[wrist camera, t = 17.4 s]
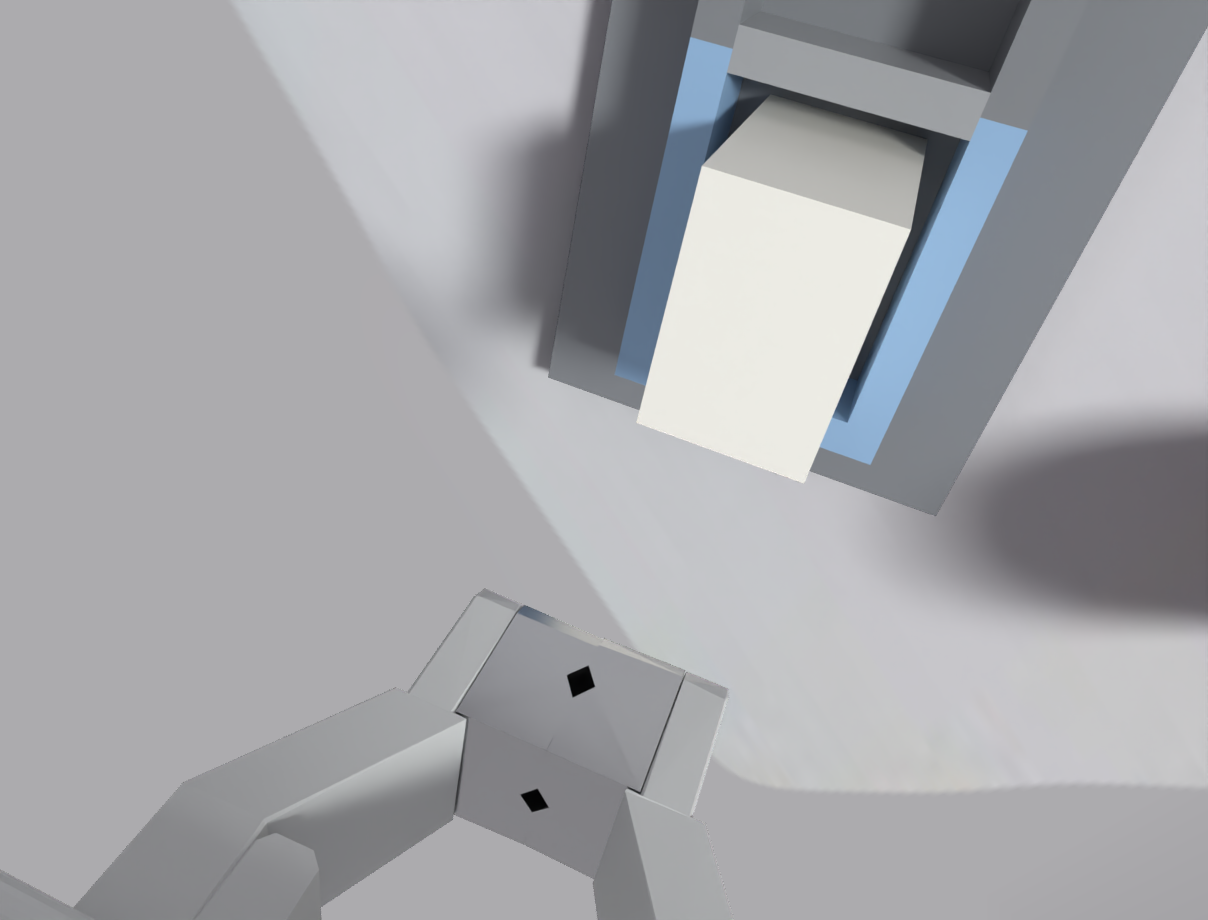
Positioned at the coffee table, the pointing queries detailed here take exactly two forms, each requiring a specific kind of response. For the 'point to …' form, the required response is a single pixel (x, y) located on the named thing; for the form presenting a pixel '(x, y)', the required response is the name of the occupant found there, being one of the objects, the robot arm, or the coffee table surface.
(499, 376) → the coffee table surface
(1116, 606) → the coffee table surface
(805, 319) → the plug
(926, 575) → the coffee table surface
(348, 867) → the robot arm
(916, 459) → the divided sorting tray
